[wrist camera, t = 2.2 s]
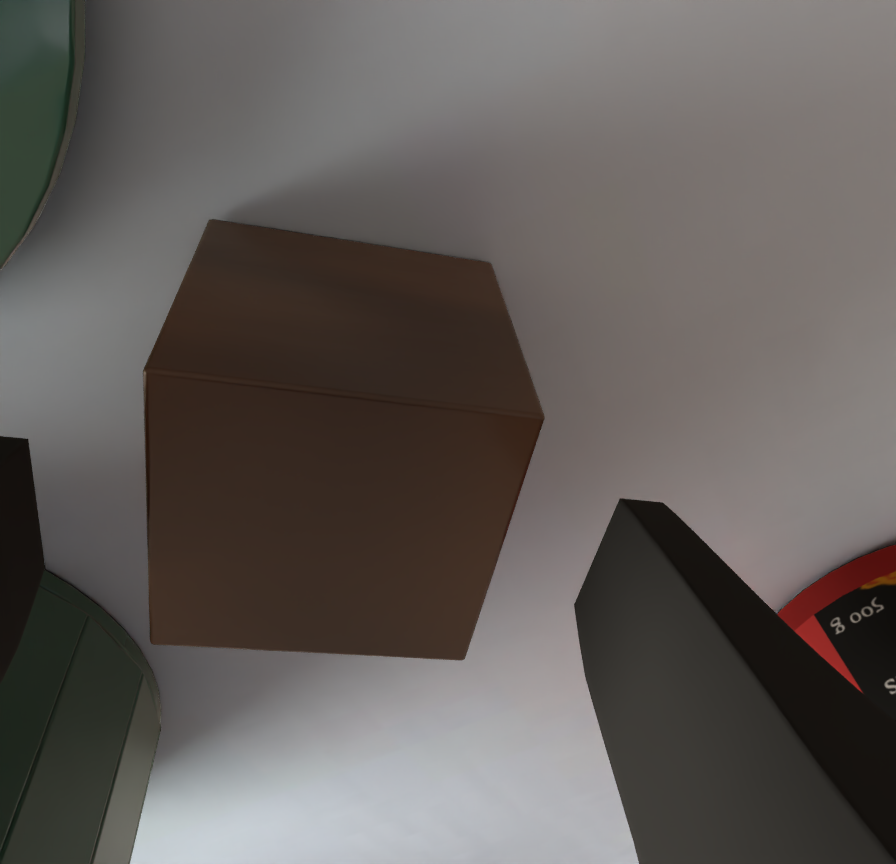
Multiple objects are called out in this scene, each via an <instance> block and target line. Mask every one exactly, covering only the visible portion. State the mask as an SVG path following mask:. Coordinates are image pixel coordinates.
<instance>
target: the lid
mask: <svg viewBox="0 0 896 864" xmlns="http://www.w3.org/2000/svg"><path fill="white" fill-rule="evenodd" d="M84 60H85V0H0V271H1V270H2V269H3V267H4V266H5V265H6V264H7V263H8V261H9V260H10V259H11V257H12V256H13V255H14V253H15V252H16V250H17V249H18V248H19V246H20V245H21V244H22V242H23V241H24V239H25V238H26V237H27V235H28V234H29V233H30V231H31V230H32V229H33V227H34V226H35V224H36V222H37V220H38V218H39V216H40V214H41V212H42V210H43V208H44V206H45V204H46V202H47V200H48V198H49V196H50V194H51V192H52V190H53V188H54V186H55V184H56V182H57V180H58V178H59V175H60V172H61V169H62V165H63V162H64V159H65V155H66V152H67V149H68V145H69V142H70V139H71V135H72V132H73V129H74V125H75V122H76V116H77V109H78V102H79V95H80V88H81V81H82V74H83V67H84Z"/></svg>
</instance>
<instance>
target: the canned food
mask: <svg viewBox="0 0 896 864" xmlns="http://www.w3.org/2000/svg"><path fill="white" fill-rule="evenodd" d="M777 615H778V616H779V617H780V618H781V619H782V620H783V621H784V622H785V623H786V624H787V625H789V626H790V627H791V628H792V629H793V630H794V631H795V632H796V633H797V634H798V635H799V636H800V637H801V638H802V639H803V640H804V641H805V642H806V643H808V644H809V645H810V646H811V647H812V648H813V649H814V650H815V651H816V652H817V653H818V654H819V655H820V656H821V657H823V658H824V659H825V660H826V661H827V662H828V663H829V664H830V665H832V666H833V667H834V668H835V669H836V670H837V671H838V672H839V673H840V674H842V675H843V676H844V677H845V678H846V679H847V680H848V681H849V682H851V683H852V684H853V685H854V686H855V687H856V688H857V689H858V690H860V691H861V692H862V693H863V694H864V695H865V696H866V697H867V698H869V699H870V700H871V701H872V702H873V703H874V704H876V705H877V706H878V707H879V708H880V709H882V710H883V711H884V712H885V713H886V714H887V715H889V716H890V717H891V718H892V719H893V720H895V721H896V545H892V546H888V547H885V548H883V549H880V550H878V551H875V552H872V553H870V554H867V555H865V556H862V557H859V558H857V559H855V560H853V561H851V562H849V563H847V564H845V565H844V566H842V567H840V568H838V569H836V570H834V571H832V572H830V573H828V574H827V575H825V576H824V577H822V578H821V579H819V580H818V581H816V582H815V583H813V584H812V585H810V586H809V587H807V588H806V589H805V590H803V591H802V592H801V593H800V594H798V595H797V596H796V597H795V598H794V599H793V600H792V601H790V602H789V603H788V604H787V605H786V606H785V607H784V608H782V609H781V610H780V612H779V613H778V614H777Z"/></svg>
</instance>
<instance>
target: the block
mask: <svg viewBox="0 0 896 864" xmlns="http://www.w3.org/2000/svg"><path fill="white" fill-rule="evenodd" d="M143 391H144V430H145V468H146V506H147V545H148V583H149V621H150V641H151V643H152V644H154V645H173V646H192V647H212V648H231V649H250V650H269V651H289V652H308V653H327V654H346V655H366V656H385V657H404V658H423V659H443V660H464V659H465V657H466V654H467V651H468V648H469V645H470V642H471V639H472V636H473V633H474V630H475V627H476V624H477V621H478V618H479V615H480V611H481V608H482V605H483V602H484V599H485V596H486V593H487V590H488V587H489V584H490V581H491V578H492V575H493V572H494V569H495V566H496V563H497V560H498V557H499V554H500V551H501V548H502V545H503V542H504V539H505V536H506V533H507V530H508V527H509V524H510V521H511V518H512V515H513V512H514V509H515V506H516V503H517V500H518V497H519V494H520V491H521V488H522V485H523V482H524V479H525V476H526V473H527V470H528V467H529V464H530V461H531V458H532V454H533V451H534V448H535V445H536V442H537V439H538V436H539V433H540V430H541V427H542V424H543V421H544V413H543V410H542V407H541V404H540V401H539V399H538V396H537V393H536V390H535V387H534V384H533V381H532V379H531V376H530V373H529V370H528V367H527V364H526V361H525V359H524V356H523V353H522V350H521V347H520V344H519V341H518V339H517V336H516V333H515V330H514V327H513V324H512V321H511V319H510V316H509V313H508V310H507V307H506V304H505V301H504V299H503V296H502V293H501V290H500V287H499V284H498V281H497V279H496V276H495V273H494V270H493V267H492V264H490V263H488V262H482V261H475V260H469V259H462V258H456V257H450V256H443V255H437V254H431V253H424V252H418V251H411V250H405V249H399V248H392V247H386V246H379V245H373V244H367V243H360V242H354V241H348V240H341V239H335V238H328V237H322V236H316V235H309V234H303V233H296V232H290V231H284V230H277V229H271V228H265V227H258V226H252V225H245V224H239V223H233V222H226V221H220V220H213V219H212V220H209V221H208V223H207V226H206V228H205V230H204V233H203V235H202V237H201V239H200V242H199V244H198V246H197V249H196V251H195V253H194V255H193V258H192V260H191V262H190V265H189V267H188V269H187V271H186V274H185V276H184V278H183V281H182V283H181V285H180V287H179V290H178V292H177V294H176V297H175V299H174V301H173V303H172V306H171V308H170V310H169V313H168V315H167V317H166V319H165V322H164V324H163V326H162V329H161V331H160V333H159V335H158V338H157V340H156V342H155V345H154V347H153V349H152V351H151V354H150V356H149V358H148V361H147V363H146V365H145V367H144V370H143Z"/></svg>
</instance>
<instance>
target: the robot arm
mask: <svg viewBox="0 0 896 864" xmlns="http://www.w3.org/2000/svg"><path fill="white" fill-rule="evenodd" d="M44 569H45V563H44V555H43V548H42V540H41V533H40V525H39V517H38V510H37V502H36V495H35V487H34V480H33V472H32V465H31V457H30V449H29V442H28V439H23V438H13V437H4V436H0V684H1V682H2V680H3V678H4V676H5V674H6V672H7V670H8V667H9V665H10V663H11V661H12V659H13V657H14V655H15V653H16V651H17V648H18V646H19V643H20V641H21V638H22V635H23V632H24V629H25V626H26V624H27V621H28V618H29V615H30V612H31V609H32V606H33V603H34V600H35V597H36V594H37V591H38V588H39V584H40V581H41V578H42V575H43V572H44ZM574 607H575V614H576V621H577V628H578V636H579V643H580V649H581V654H582V660H583V666H584V672H585V677H586V681H587V684H588V688H589V692H590V695H591V699H592V702H593V706H594V709H595V713H596V716H597V720H598V723H599V726H600V730H601V733H602V737H603V740H604V744H605V747H606V750H607V754H608V757H609V760H610V764H611V767H612V770H613V774H614V777H615V781H616V784H617V787H618V791H619V794H620V797H621V801H622V804H623V807H624V811H625V814H626V818H627V821H628V824H629V828H630V831H631V834H632V838H633V841H634V845H635V849H636V853H637V857H638V861H639V864H896V721H895V720H893V719H892V718H891V717H890V716H889V715H887V714H886V713H885V712H884V711H883V710H882V709H880V708H879V707H878V706H877V705H876V704H874V703H873V702H872V701H871V700H870V699H869V698H867V697H866V696H865V695H864V694H863V693H862V692H861V691H860V690H858V689H857V688H856V687H855V686H854V685H853V684H852V683H851V682H849V681H848V680H847V679H846V678H845V677H844V676H843V675H842V674H840V673H839V672H838V671H837V670H836V669H835V668H834V667H833V666H832V665H830V664H829V663H828V662H827V661H826V660H825V659H824V658H823V657H821V656H820V655H819V654H818V653H817V652H816V651H815V650H814V649H813V648H812V647H811V646H810V645H809V644H808V643H806V642H805V641H804V640H803V639H802V638H801V637H800V636H799V635H798V634H797V633H796V632H795V631H794V630H793V629H792V628H791V627H790V626H789V625H787V624H786V623H785V622H784V621H783V620H782V619H781V618H780V617H779V616H778V615H777V614H776V613H775V612H774V611H773V610H772V609H771V608H770V607H769V606H768V605H767V604H766V603H765V602H764V601H763V600H762V599H761V598H760V597H759V596H758V595H757V594H756V593H755V592H754V591H753V590H752V589H751V588H750V587H749V586H748V585H747V584H746V583H745V582H744V581H743V580H742V579H741V578H740V577H739V576H738V575H737V574H736V573H735V572H734V571H733V570H732V569H731V568H730V567H729V566H728V565H727V564H726V563H725V562H724V561H723V560H722V559H721V558H720V557H719V556H718V555H717V554H716V553H715V552H714V551H713V550H712V549H711V548H710V547H709V546H708V545H707V544H706V543H705V542H704V541H703V540H702V539H701V538H700V537H699V536H698V535H697V534H696V533H695V532H694V531H693V530H692V529H691V528H690V527H689V526H688V525H687V524H686V523H685V522H683V521H682V520H681V519H680V518H679V517H678V516H677V515H676V514H675V513H674V512H673V511H672V510H671V509H669V508H668V507H667V506H666V505H665V504H664V503H661V502H651V501H641V500H631V499H621V498H620V499H619V502H618V504H617V506H616V509H615V511H614V513H613V516H612V518H611V520H610V523H609V525H608V527H607V530H606V532H605V534H604V537H603V539H602V541H601V544H600V546H599V548H598V551H597V553H596V555H595V558H594V560H593V562H592V565H591V567H590V569H589V572H588V574H587V576H586V579H585V581H584V583H583V585H582V588H581V590H580V592H579V595H578V597H577V599H576V602H575V604H574Z"/></svg>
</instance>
